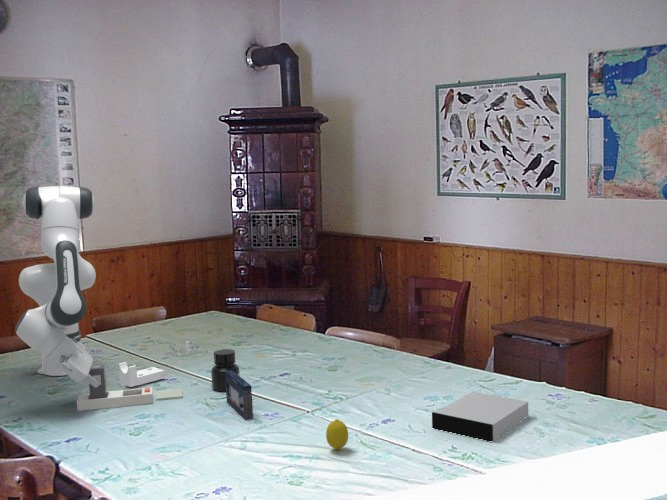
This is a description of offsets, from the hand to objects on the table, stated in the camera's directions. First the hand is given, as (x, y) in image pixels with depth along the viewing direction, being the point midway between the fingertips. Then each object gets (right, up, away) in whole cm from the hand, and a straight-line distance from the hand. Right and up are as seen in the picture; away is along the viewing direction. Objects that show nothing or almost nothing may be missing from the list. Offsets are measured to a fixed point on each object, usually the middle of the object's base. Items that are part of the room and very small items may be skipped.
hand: (99, 381), depth 232 cm
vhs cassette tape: (+44, -8, -8) cm, 45 cm away
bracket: (+7, -5, +23) cm, 25 cm away
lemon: (+72, -11, -40) cm, 83 cm away
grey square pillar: (0, -5, +1) cm, 5 cm away
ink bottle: (+37, -5, +14) cm, 40 cm away
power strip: (+5, -7, +2) cm, 9 cm away
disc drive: (+112, -8, -24) cm, 114 cm away
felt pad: (+19, -6, +8) cm, 22 cm away
